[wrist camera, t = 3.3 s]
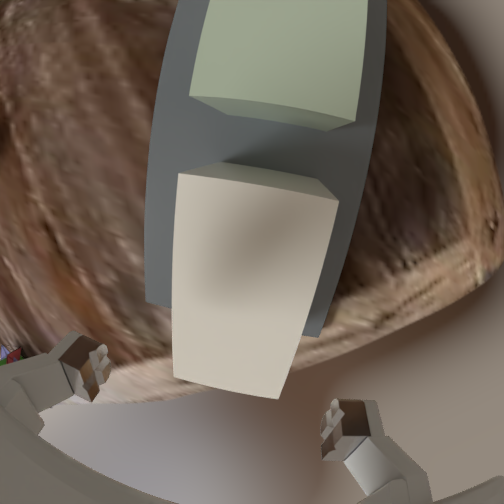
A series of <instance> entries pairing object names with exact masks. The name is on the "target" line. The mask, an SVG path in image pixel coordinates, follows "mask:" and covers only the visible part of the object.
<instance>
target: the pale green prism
mask: <svg viewBox="0 0 504 504" xmlns="http://www.w3.org/2000/svg"><path fill="white" fill-rule="evenodd" d="M367 7H368V0H210V2H209V6H208V9H207V13H206V17H205V21H204V25H203V29H202V33H201V38H200V42H199V46H198V51H197V56H196V61H195V66H194V71H193V76H192V81H191V87H190V92H189V96H190V97H193V98H195V99H197V100H199V101H201V102H203V103H205V104H207V105H209V106H211V107H213V108H215V109H217V110H219V111H221V112H223V113H225V114H227V115H233V116H241V117H249V118H257V119H264V120H270V121H276V122H282V123H288V124H293V125H298V126H303V127H308V128H313V129H318V130H322V131H326V132H327V131H329V130H332V129H335V128H338V127H340V126H343V125H346V124H349V123H352V122H354V121H355V118H356V112H357V105H358V98H359V91H360V84H361V76H362V68H363V59H364V49H365V37H366V24H367Z"/></svg>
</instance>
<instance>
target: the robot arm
mask: <svg viewBox="0 0 504 504" xmlns="http://www.w3.org/2000/svg"><path fill="white" fill-rule="evenodd" d="M107 353H108V350H107V346H106V345H104V344H102V343H99V342H97V341H95V340H93V339H91V338H89V337H86V336H84V335H82V334H80V333H78V332H76V331H71V332H69V333H68V334H67V335H66V336H65V337H64V338H63V339H62V340H61V341H60V342H59V343H58V344H57V345H56V346H55V347H54V348H53V349H52V350H51V352H50V353H49V354H46V353H43V354H40V355H37V356H33V357H30V358H26V359H23V360H20V361H16V362H13V363H9V364H6V365H2V366H0V504H177V503H174V502H171V501H168V500H164V499H161V498H158V497H155V496H153V495H150V494H147V493H144V492H142V491H139V490H137V489H134V488H131V487H129V486H127V485H124V484H122V483H120V482H118V481H115V480H113V479H111V478H109V477H107V476H105V475H103V474H101V473H99V472H97V471H95V470H93V469H91V468H89V467H87V466H86V465H84V464H82V463H80V462H78V461H77V460H75V459H73V458H72V457H70V456H68V455H67V454H65V453H63V452H62V451H60V450H59V449H57V448H56V447H54V446H52V445H51V444H50V443H48V442H47V441H45V440H44V439H42V438H41V437H40V436H38V434H39V432H40V431H41V430H42V428H43V427H44V421H43V420H42V418H41V417H40V416H39V414H38V413H39V412H41V411H43V410H45V409H47V408H50V407H52V406H54V405H56V404H58V403H60V402H62V401H64V400H66V399H67V398H69V397H71V396H73V395H74V394H75V395H77V396H79V397H81V398H83V399H85V400H87V401H89V402H91V403H92V401H93V400H94V398H95V397H96V396H97V394H98V393H99V391H100V389H99V385H101V384H104V383H105V382H106V381H107V379H108V378H109V375H110V372H111V363H110V360H109V359H108V358H107V356H106V354H107ZM321 436H322V437H323V439H324V440H325V441H324V442H323V443H322V445H321V455H322V460H328V461H344V463H345V465H346V466H347V468H348V469H349V471H350V472H351V474H352V475H353V476H354V478H355V479H356V480H357V482H358V484H359V485H360V486H361V488H362V489H363V491H364V492H365V493H366V495H367V496H368V497H367V498H365V499H363V500H361V501H360V502H358V503H357V504H504V477H503V476H496V477H493V478H491V479H489V480H487V481H485V482H483V483H481V484H479V485H477V486H474V487H473V488H470V489H467V490H465V491H462V492H460V493H458V494H455V495H453V496H449V497H447V498H444V499H441V500H438V501H435V502H433V501H432V495H431V490H430V486H429V481H428V477H427V473H426V472H425V471H424V470H423V469H422V468H421V467H420V466H419V465H418V464H417V463H416V462H415V461H413V460H412V459H411V458H410V457H409V456H408V455H407V454H406V453H405V452H404V451H403V450H402V449H401V448H400V447H399V446H398V445H397V444H396V443H395V442H394V441H393V440H392V439H391V438H390V437H389V436H385V434H384V429H383V425H382V421H381V417H380V413H379V409H378V405H377V402H376V401H375V400H355V399H334V400H333V402H332V403H331V410H329V411H327V412H326V413H325V415H324V416H323V419H322V422H321Z"/></svg>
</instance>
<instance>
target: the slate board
mask: <svg viewBox="0 0 504 504" xmlns="http://www.w3.org/2000/svg"><path fill="white" fill-rule="evenodd" d="M209 2H210V0H179V2H178V5H177V8H176V12H175V15H174V19H173V22H172V26H171V30H170V34H169V38H168V42H167V46H166V50H165V55H164V59H163V64H162V69H161V74H160V79H159V84H158V90H157V96H156V102H155V108H154V115H153V122H152V130H151V138H150V147H149V158H148V169H147V182H146V200H145V229H144V265H145V295H146V302H149V303H153V304H156V305H160V306H164V307H168V308H172V261H173V238H174V220H175V206H176V194H177V183H178V173H181V172H185V171H188V170H192V169H195V168H199V167H203V166H206V165H210V164H214V163H218V162H225V163H232V164H239V165H246V166H252V167H258V168H264V169H270V170H275V171H281V172H286V173H291V174H296V175H301V176H306V177H311V178H316V179H318V180H319V181H320V182H321V183H322V184H323V185H324V186H325V187H326V188H327V189H328V190H329V191H330V192H331V193H332V194H333V195H334V196H335V197H336V198H337V199H338V200H339V204H338V208H337V213H336V217H335V221H334V225H333V229H332V233H331V237H330V241H329V245H328V248H327V252H326V256H325V259H324V263H323V267H322V270H321V274H320V277H319V281H318V284H317V287H316V291H315V294H314V297H313V301H312V304H311V307H310V310H309V313H308V317H307V320H306V323H305V326H304V329H303V332H302V335H304V336H311V337H317V338H319V335H320V333H321V330H322V327H323V324H324V322H325V319H326V316H327V313H328V311H329V308H330V305H331V302H332V299H333V296H334V293H335V290H336V287H337V284H338V281H339V278H340V274H341V271H342V268H343V265H344V261H345V258H346V255H347V251H348V248H349V244H350V241H351V237H352V234H353V230H354V226H355V222H356V219H357V215H358V211H359V207H360V203H361V198H362V194H363V190H364V185H365V181H366V176H367V172H368V167H369V162H370V157H371V152H372V147H373V141H374V135H375V130H376V123H377V117H378V110H379V103H380V96H381V88H382V79H383V69H384V58H385V45H386V25H387V0H368V7H367V24H366V37H365V49H364V59H363V68H362V76H361V84H360V91H359V98H358V105H357V112H356V118H355V121H354V122H352V123H349V124H346V125H343V126H340V127H338V128H335V129H332V130H329V131H327V132H326V131H322V130H318V129H313V128H308V127H303V126H298V125H293V124H288V123H282V122H276V121H270V120H264V119H257V118H249V117H241V116H233V115H227V114H225V113H223V112H221V111H219V110H217V109H215V108H213V107H211V106H209V105H207V104H205V103H203V102H201V101H199V100H197V99H195V98H193V97H190V96H189V92H190V87H191V81H192V76H193V71H194V66H195V61H196V56H197V51H198V46H199V42H200V38H201V33H202V29H203V25H204V21H205V17H206V13H207V9H208V6H209Z"/></svg>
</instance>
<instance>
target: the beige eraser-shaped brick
mask: <svg viewBox="0 0 504 504" xmlns="http://www.w3.org/2000/svg"><path fill="white" fill-rule="evenodd" d="M338 204H339V200H338V199H337V198H336V197H335V196H334V195H333V194H332V193H331V192H330V191H329V190H328V189H327V188H326V187H325V186H324V185H323V184H322V183H321V182H320V181H319V180H318V179H316V178H311V177H306V176H301V175H296V174H291V173H286V172H281V171H275V170H270V169H264V168H258V167H252V166H246V165H239V164H232V163H225V162H218V163H214V164H210V165H206V166H203V167H199V168H195V169H192V170H188V171H185V172H181V173H178V183H177V194H176V206H175V220H174V238H173V261H172V349H173V372H174V377H176V378H180V379H183V380H187V381H191V382H195V383H198V384H202V385H207V386H211V387H215V388H219V389H224V390H229V391H234V392H239V393H244V394H249V395H255V396H261V397H267V398H274V399H278V398H279V395H280V393H281V391H282V388H283V385H284V383H285V380H286V377H287V375H288V372H289V369H290V366H291V364H292V361H293V358H294V355H295V352H296V350H297V347H298V344H299V341H300V338H301V335H302V332H303V329H304V326H305V323H306V320H307V317H308V313H309V310H310V307H311V304H312V301H313V297H314V294H315V291H316V287H317V284H318V281H319V277H320V274H321V270H322V267H323V263H324V259H325V256H326V252H327V248H328V245H329V241H330V237H331V233H332V229H333V225H334V221H335V217H336V213H337V208H338Z"/></svg>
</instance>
